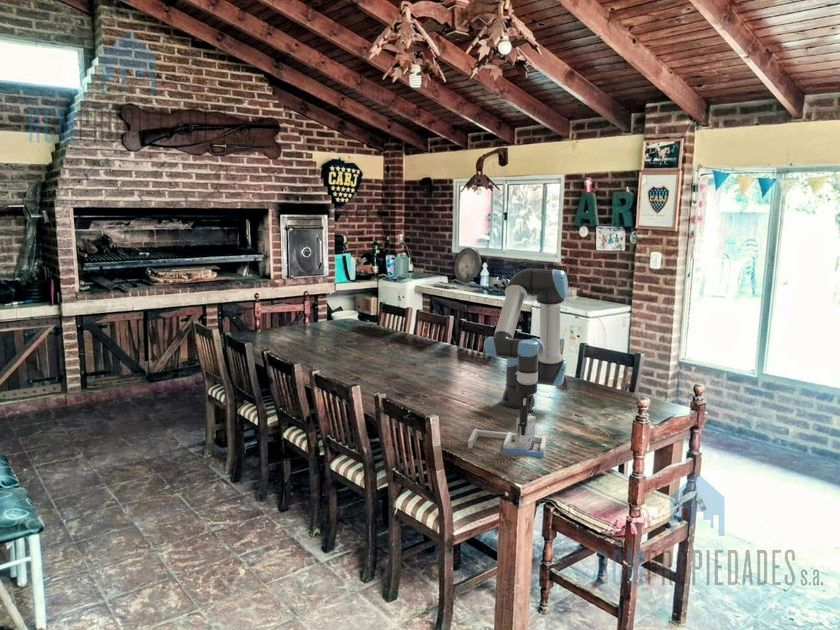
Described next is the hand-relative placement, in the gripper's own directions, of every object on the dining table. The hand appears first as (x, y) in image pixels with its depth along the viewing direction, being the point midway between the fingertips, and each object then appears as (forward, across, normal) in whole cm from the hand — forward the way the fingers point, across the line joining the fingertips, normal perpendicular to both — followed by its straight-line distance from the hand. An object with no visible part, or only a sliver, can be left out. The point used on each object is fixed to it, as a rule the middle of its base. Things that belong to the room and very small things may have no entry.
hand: (525, 435), depth 242 cm
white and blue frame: (+6, -3, -7) cm, 9 cm away
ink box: (+5, 0, 0) cm, 5 cm away
